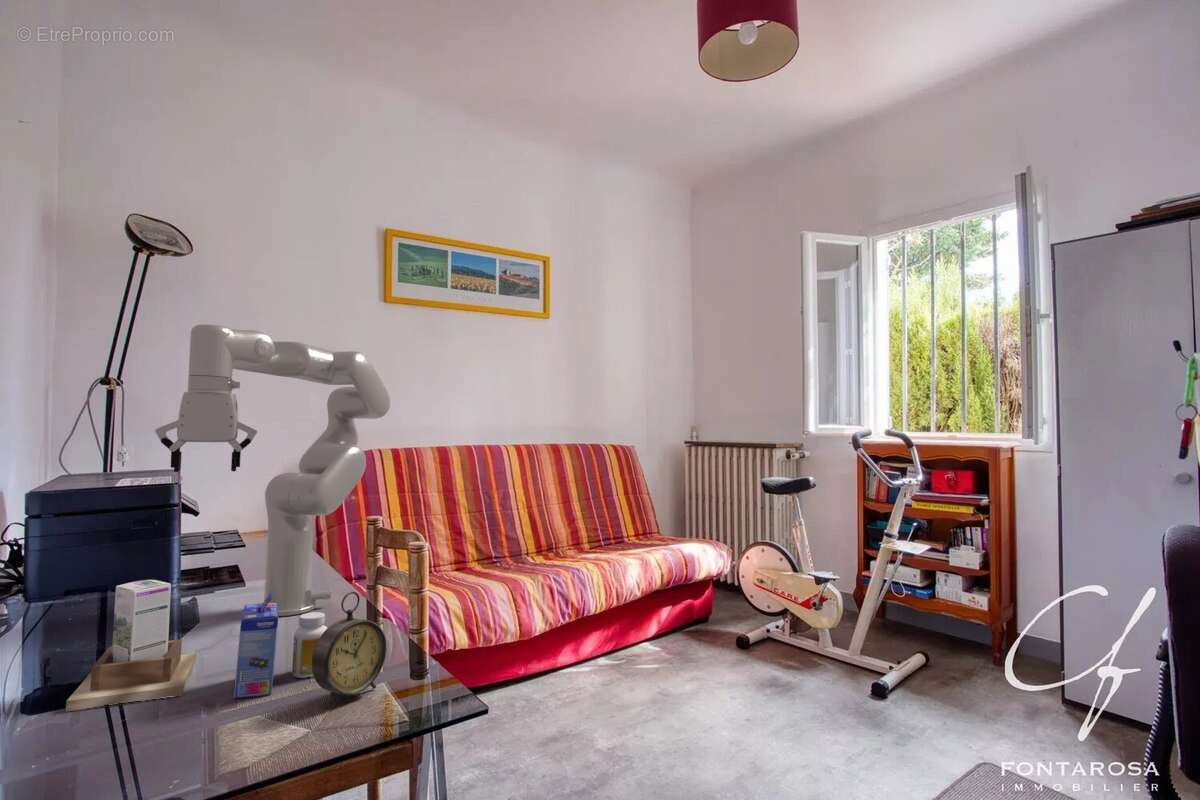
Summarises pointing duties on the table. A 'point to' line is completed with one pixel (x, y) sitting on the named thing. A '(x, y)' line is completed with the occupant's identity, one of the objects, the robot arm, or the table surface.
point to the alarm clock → (349, 655)
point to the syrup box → (141, 621)
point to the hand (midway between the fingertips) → (205, 471)
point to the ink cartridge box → (257, 649)
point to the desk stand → (133, 679)
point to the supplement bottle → (306, 643)
